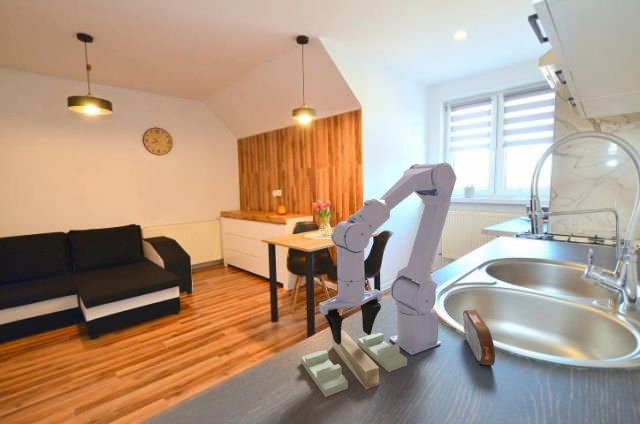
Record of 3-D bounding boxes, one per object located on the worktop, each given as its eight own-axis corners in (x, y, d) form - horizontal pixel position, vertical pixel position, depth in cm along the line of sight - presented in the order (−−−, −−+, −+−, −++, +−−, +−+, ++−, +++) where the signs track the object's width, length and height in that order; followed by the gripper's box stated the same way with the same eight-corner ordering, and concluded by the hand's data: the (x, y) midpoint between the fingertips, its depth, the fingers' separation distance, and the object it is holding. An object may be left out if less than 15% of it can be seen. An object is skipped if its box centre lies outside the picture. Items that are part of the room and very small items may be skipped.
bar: (343, 345, 75) (343, 330, 74) (379, 386, 60) (378, 367, 60) (332, 348, 74) (332, 332, 73) (366, 390, 59) (365, 371, 59)
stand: (374, 339, 77) (374, 327, 76) (407, 365, 66) (407, 352, 66) (301, 363, 68) (300, 350, 68) (325, 397, 57) (324, 382, 57)
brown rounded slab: (496, 374, 62) (497, 335, 61) (479, 372, 63) (480, 334, 62) (474, 335, 77) (474, 303, 75) (460, 334, 77) (461, 303, 76)
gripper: (368, 267, 71) (369, 321, 73) (312, 278, 65) (314, 337, 67) (387, 275, 65) (387, 335, 67) (327, 288, 59) (329, 353, 60)
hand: (352, 337), depth 66 cm, fingers open, 7 cm apart
